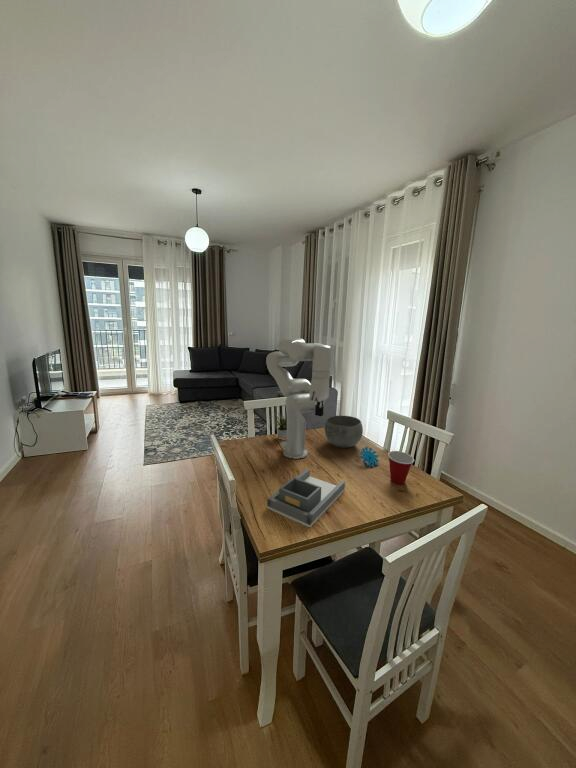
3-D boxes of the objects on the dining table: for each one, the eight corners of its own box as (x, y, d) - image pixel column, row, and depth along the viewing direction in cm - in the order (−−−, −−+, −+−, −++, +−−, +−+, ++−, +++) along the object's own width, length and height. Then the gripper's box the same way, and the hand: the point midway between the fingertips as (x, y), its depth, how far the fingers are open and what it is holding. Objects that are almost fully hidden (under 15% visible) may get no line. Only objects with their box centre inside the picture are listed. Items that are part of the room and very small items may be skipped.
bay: (267, 508, 112) (267, 498, 111) (306, 477, 135) (307, 468, 134) (309, 527, 102) (310, 517, 101) (344, 490, 125) (345, 481, 124)
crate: (278, 505, 112) (278, 488, 111) (293, 492, 121) (294, 477, 119) (306, 517, 106) (306, 500, 104) (320, 503, 114) (321, 487, 113)
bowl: (342, 435, 184) (344, 412, 181) (369, 447, 167) (371, 421, 164) (316, 442, 172) (317, 417, 169) (341, 456, 156) (343, 428, 153)
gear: (365, 466, 143) (359, 446, 148) (358, 470, 147) (352, 450, 152) (383, 465, 147) (377, 446, 152) (376, 469, 152) (370, 450, 157)
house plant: (264, 440, 174) (264, 413, 170) (274, 432, 186) (274, 406, 183) (287, 445, 169) (288, 416, 165) (296, 436, 181) (297, 410, 178)
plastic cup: (405, 491, 126) (408, 464, 123) (380, 481, 133) (383, 455, 131) (415, 481, 133) (418, 456, 131) (392, 472, 141) (394, 448, 138)
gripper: (321, 371, 138) (319, 409, 142) (304, 375, 126) (302, 417, 130) (336, 373, 134) (334, 412, 138) (320, 378, 122) (318, 421, 126)
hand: (319, 415), depth 134 cm, fingers closed
